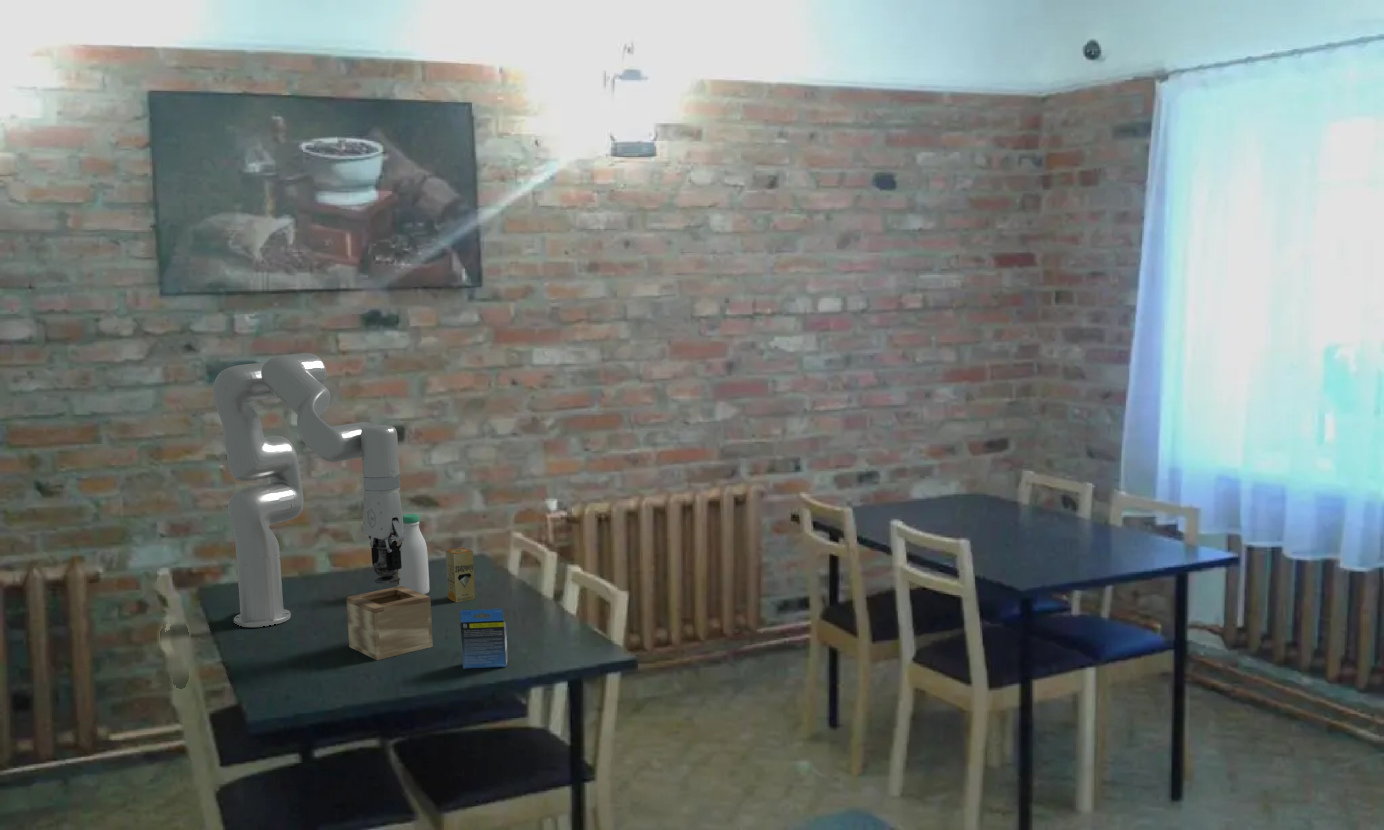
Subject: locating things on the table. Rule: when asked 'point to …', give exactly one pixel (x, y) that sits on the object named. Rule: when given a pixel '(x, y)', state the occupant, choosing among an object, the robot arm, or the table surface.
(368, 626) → the box
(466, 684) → the table surface
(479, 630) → the label tape cartridge
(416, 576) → the milk bottle
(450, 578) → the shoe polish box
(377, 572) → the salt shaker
